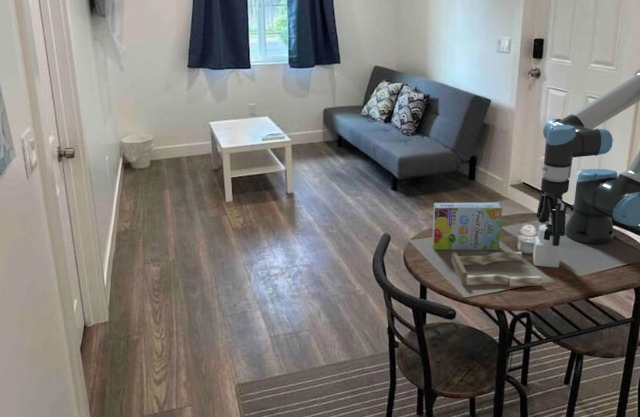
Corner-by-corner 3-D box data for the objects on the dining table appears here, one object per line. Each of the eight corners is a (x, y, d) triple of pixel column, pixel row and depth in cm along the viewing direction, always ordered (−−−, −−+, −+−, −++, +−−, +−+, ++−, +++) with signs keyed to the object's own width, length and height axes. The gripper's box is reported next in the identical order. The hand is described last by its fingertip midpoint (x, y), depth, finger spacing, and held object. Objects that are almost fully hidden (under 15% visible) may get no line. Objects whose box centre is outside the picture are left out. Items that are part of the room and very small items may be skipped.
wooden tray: (520, 258, 179) (521, 247, 178) (540, 285, 163) (542, 273, 161) (450, 261, 179) (450, 249, 178) (463, 288, 163) (464, 275, 162)
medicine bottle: (556, 258, 179) (561, 223, 175) (558, 268, 172) (563, 232, 168) (532, 256, 181) (536, 221, 176) (533, 265, 174) (538, 230, 170)
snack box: (495, 243, 190) (499, 201, 185) (498, 251, 185) (502, 208, 180) (431, 243, 193) (433, 201, 187) (433, 250, 187) (434, 207, 182)
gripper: (530, 168, 177) (523, 234, 185) (557, 190, 157) (548, 263, 165) (554, 167, 177) (546, 233, 185) (584, 189, 157) (574, 262, 165)
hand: (547, 247), depth 175 cm, fingers closed on medicine bottle, 8 cm apart
